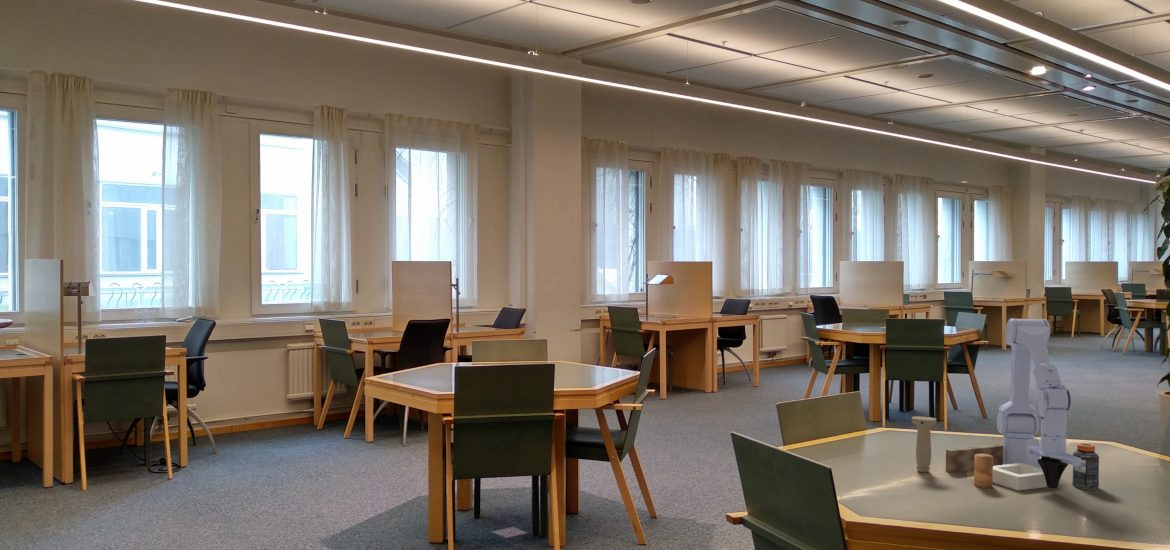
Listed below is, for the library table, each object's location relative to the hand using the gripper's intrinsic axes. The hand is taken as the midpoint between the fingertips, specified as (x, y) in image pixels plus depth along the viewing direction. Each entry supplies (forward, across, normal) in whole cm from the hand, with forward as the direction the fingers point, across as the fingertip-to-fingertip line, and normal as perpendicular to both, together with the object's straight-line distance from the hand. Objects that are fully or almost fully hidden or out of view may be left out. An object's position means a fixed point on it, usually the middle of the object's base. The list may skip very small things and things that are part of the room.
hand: (1052, 487), depth 219 cm
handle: (+2, -28, -16) cm, 32 cm away
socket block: (+1, -10, 0) cm, 10 cm away
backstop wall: (+1, -26, 0) cm, 26 cm away
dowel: (+1, -11, -12) cm, 16 cm away
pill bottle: (+2, -1, +13) cm, 13 cm away
